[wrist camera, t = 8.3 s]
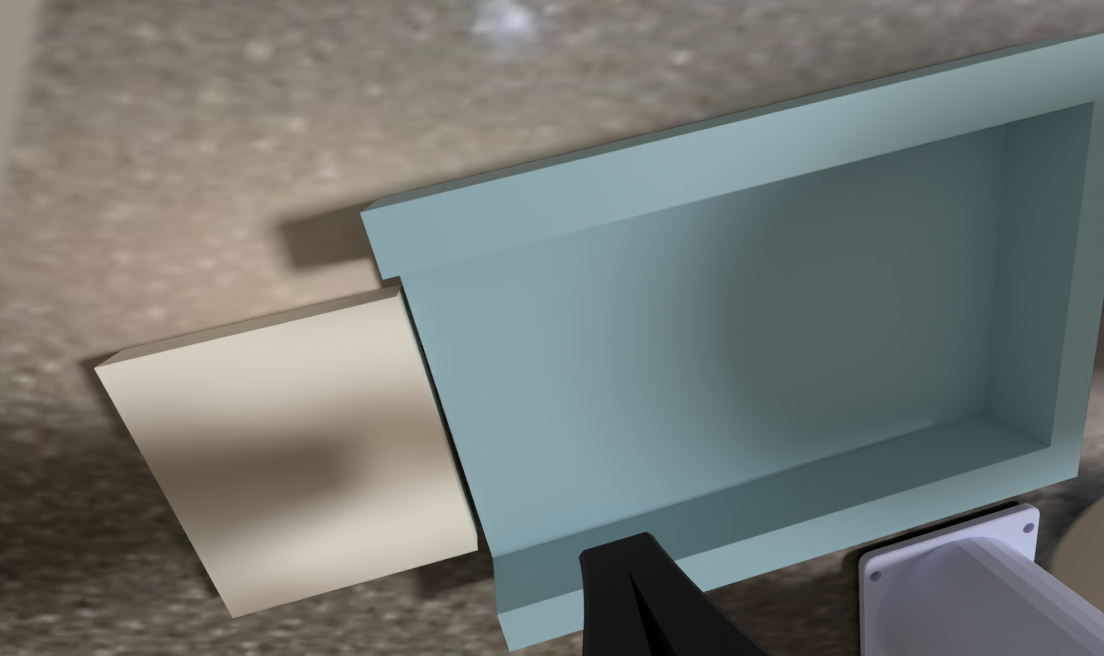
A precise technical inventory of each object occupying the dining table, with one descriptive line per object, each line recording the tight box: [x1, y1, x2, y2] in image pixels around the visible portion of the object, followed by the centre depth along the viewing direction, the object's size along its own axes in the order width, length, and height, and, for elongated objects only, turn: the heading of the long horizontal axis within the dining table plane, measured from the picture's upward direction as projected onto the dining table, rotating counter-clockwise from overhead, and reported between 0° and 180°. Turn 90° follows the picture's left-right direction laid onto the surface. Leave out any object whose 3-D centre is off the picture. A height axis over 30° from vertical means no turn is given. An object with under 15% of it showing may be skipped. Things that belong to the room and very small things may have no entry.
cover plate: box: [94, 284, 478, 618], centre depth 17 cm, size 9×8×2 cm
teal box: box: [360, 30, 1104, 652], centre depth 17 cm, size 20×14×3 cm
